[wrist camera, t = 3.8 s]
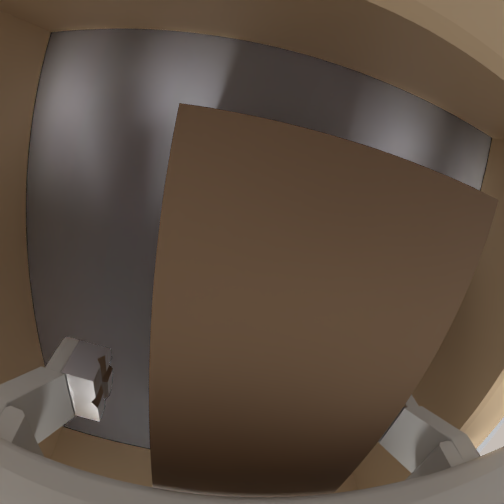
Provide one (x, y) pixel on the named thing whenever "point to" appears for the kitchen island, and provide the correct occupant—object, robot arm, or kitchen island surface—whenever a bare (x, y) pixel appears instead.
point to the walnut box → (295, 301)
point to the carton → (322, 47)
